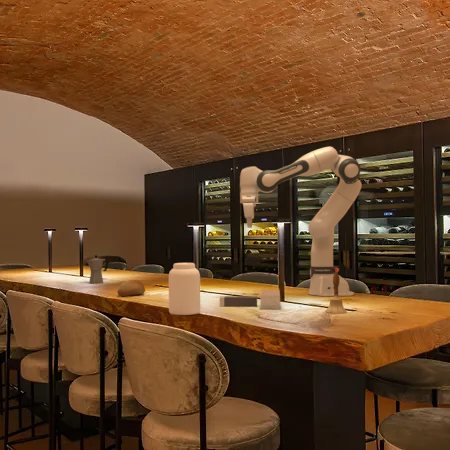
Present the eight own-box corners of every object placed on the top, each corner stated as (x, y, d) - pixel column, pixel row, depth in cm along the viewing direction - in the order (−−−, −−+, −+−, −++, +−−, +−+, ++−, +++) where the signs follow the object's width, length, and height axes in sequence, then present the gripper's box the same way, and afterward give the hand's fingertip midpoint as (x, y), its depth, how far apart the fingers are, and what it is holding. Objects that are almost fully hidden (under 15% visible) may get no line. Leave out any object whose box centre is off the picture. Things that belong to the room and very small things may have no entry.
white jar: (188, 316, 198) (187, 264, 198) (162, 314, 205) (162, 263, 205) (206, 312, 209) (205, 262, 209) (181, 309, 215) (181, 261, 216)
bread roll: (149, 295, 267) (149, 279, 267) (122, 298, 258) (122, 281, 258) (140, 293, 275) (140, 278, 275) (114, 296, 266) (114, 280, 266)
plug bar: (257, 305, 226) (257, 296, 226) (256, 306, 222) (256, 297, 222) (220, 305, 227) (220, 296, 228) (219, 306, 224) (219, 297, 224)
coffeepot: (89, 284, 327) (88, 255, 327) (83, 283, 335) (83, 255, 335) (112, 282, 336) (111, 255, 336) (106, 281, 344) (106, 254, 344)
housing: (279, 302, 233) (279, 289, 233) (280, 309, 213) (279, 295, 213) (261, 302, 234) (261, 289, 234) (260, 309, 214) (260, 295, 214)
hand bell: (347, 311, 208) (347, 271, 208) (345, 314, 200) (345, 272, 200) (327, 310, 210) (326, 270, 211) (324, 313, 203) (323, 272, 203)
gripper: (244, 201, 266) (244, 227, 265) (241, 198, 245) (241, 227, 245) (256, 200, 265) (256, 227, 265) (254, 198, 245) (255, 227, 244)
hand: (249, 227), depth 255 cm, fingers open, 8 cm apart
